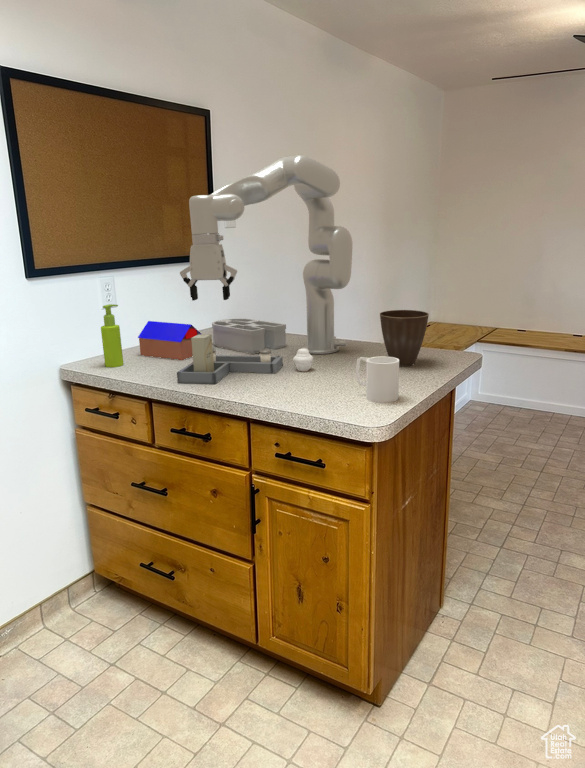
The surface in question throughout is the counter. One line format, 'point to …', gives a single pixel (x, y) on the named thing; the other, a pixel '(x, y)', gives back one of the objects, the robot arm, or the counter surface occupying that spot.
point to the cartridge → (265, 355)
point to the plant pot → (403, 334)
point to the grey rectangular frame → (251, 363)
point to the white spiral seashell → (303, 360)
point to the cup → (380, 378)
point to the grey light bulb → (214, 354)
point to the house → (167, 340)
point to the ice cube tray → (248, 334)
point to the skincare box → (202, 353)
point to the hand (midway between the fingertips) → (210, 299)
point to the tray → (203, 374)
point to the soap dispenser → (111, 340)
